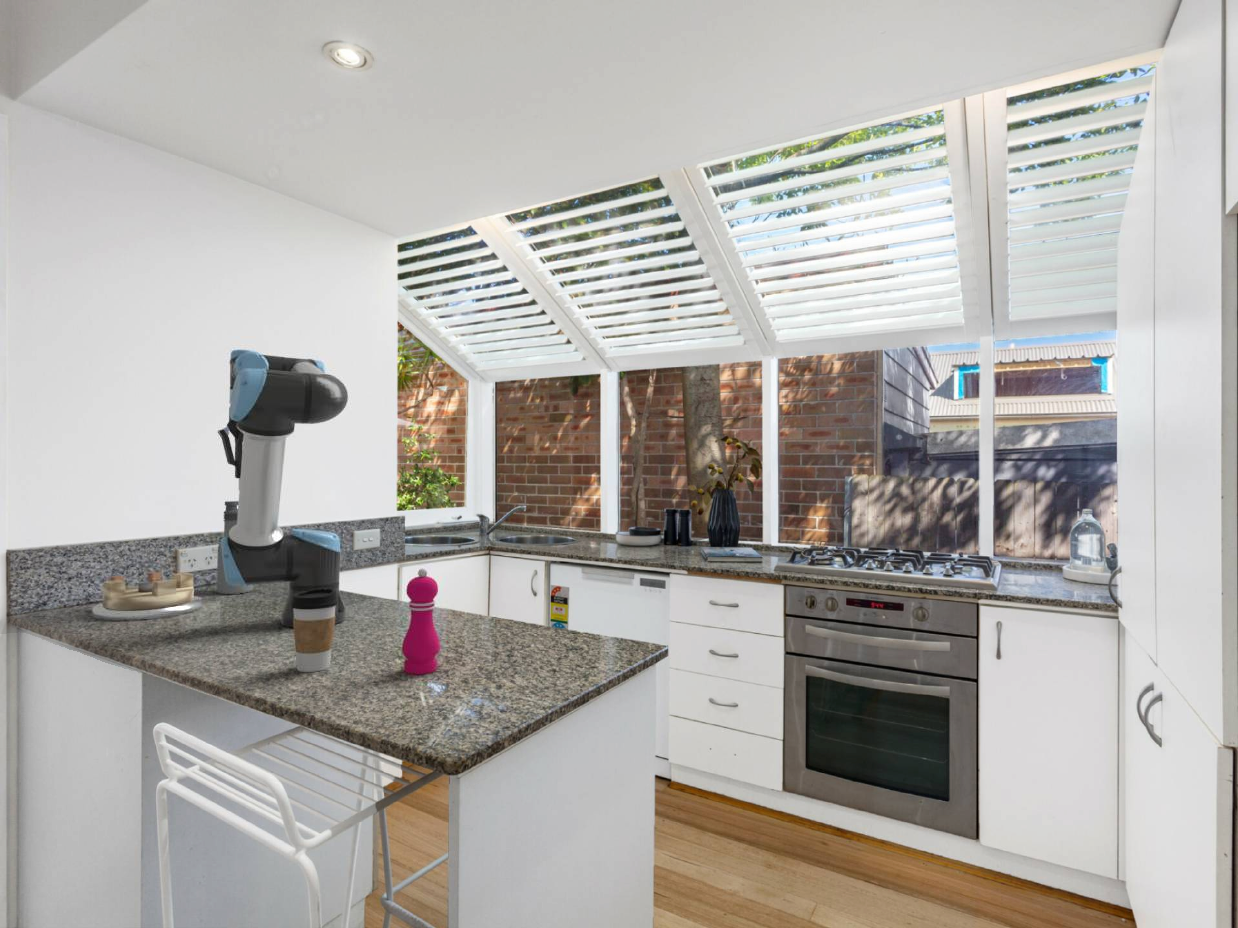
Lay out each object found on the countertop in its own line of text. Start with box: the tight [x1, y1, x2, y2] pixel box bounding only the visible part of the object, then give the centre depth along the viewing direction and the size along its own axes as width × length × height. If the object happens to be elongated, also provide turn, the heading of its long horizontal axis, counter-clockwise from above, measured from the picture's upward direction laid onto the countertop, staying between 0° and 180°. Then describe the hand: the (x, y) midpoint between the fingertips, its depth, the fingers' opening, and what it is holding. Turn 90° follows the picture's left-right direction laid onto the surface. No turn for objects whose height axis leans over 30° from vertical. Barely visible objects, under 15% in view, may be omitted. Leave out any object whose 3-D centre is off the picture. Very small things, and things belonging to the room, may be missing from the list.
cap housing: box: [92, 595, 203, 622], centre depth 182 cm, size 24×24×4 cm
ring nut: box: [102, 571, 195, 610], centre depth 182 cm, size 20×20×6 cm
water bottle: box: [216, 500, 254, 595], centre depth 210 cm, size 10×10×28 cm
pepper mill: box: [401, 567, 441, 675], centre depth 134 cm, size 7×7×20 cm
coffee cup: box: [291, 588, 338, 673], centre depth 134 cm, size 8×8×15 cm
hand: (242, 490), depth 190 cm, fingers closed
